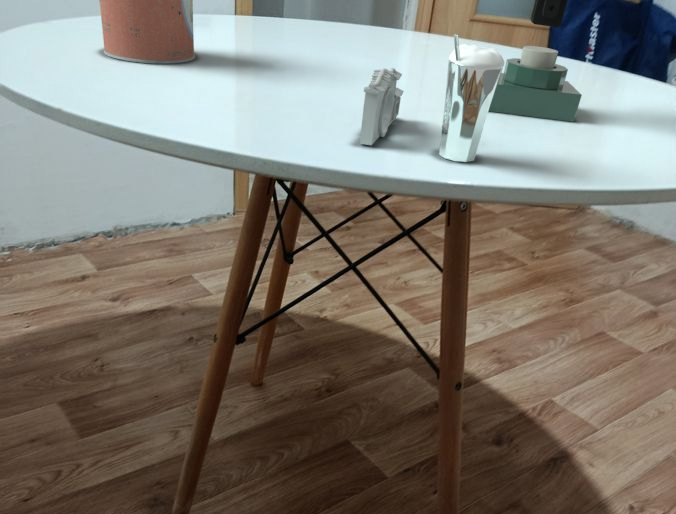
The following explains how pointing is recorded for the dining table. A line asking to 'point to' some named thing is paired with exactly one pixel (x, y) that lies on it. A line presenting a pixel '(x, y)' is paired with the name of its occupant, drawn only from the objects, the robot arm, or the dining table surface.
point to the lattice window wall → (380, 105)
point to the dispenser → (535, 92)
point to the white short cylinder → (538, 57)
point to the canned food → (148, 30)
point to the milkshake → (468, 98)
